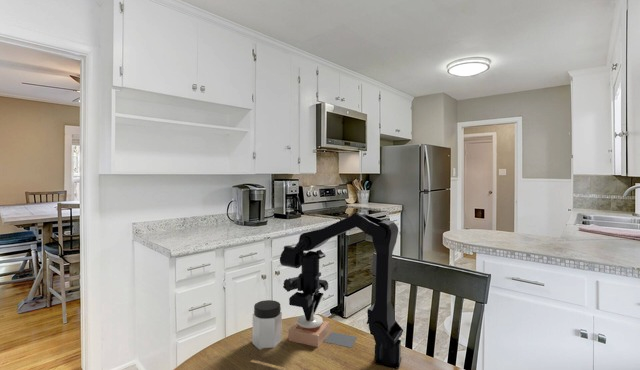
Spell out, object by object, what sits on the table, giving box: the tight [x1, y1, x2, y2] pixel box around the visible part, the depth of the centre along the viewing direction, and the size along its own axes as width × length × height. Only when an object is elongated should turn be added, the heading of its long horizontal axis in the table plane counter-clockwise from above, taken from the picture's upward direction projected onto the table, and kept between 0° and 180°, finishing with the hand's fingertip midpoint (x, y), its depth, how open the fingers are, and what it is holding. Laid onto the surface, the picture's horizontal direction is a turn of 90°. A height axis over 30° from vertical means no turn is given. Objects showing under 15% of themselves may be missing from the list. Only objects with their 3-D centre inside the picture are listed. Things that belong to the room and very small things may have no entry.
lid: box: [296, 309, 324, 328], centre depth 103 cm, size 8×8×5 cm
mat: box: [323, 331, 358, 348], centre depth 101 cm, size 9×7×1 cm
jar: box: [251, 299, 283, 351], centre depth 99 cm, size 9×8×12 cm
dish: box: [288, 320, 330, 348], centre depth 103 cm, size 10×10×4 cm
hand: (309, 318), depth 103 cm, fingers closed on lid, 3 cm apart
